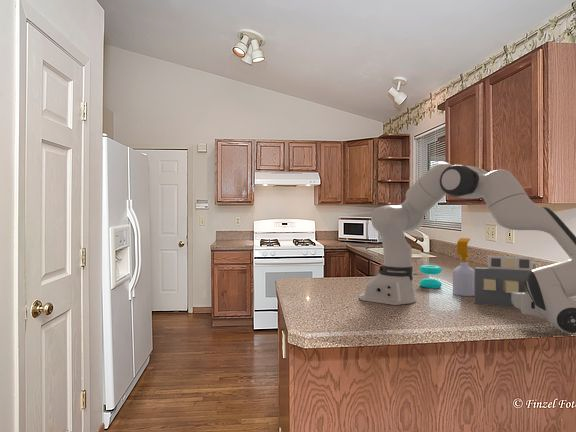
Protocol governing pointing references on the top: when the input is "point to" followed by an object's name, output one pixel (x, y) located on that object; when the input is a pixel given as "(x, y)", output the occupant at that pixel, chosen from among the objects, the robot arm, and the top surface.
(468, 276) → the soap bottle
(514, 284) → the button mid
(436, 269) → the donuts
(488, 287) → the button left
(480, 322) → the top surface
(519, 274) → the panel
